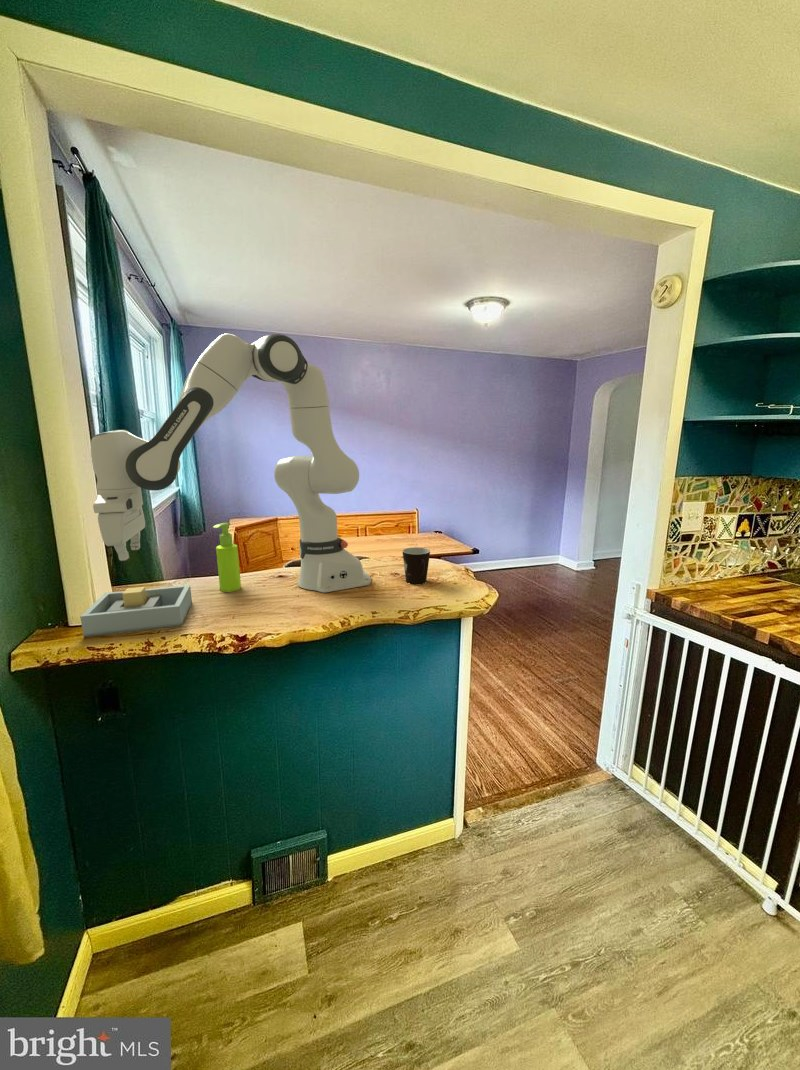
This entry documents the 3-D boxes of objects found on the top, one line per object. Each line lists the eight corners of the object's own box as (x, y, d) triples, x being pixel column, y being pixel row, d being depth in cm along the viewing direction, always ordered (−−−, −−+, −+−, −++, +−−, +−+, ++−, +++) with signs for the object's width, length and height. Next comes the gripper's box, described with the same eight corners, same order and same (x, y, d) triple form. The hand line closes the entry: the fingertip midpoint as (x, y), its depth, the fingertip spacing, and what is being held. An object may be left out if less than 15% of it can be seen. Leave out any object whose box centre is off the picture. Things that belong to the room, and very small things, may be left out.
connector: (147, 608, 111) (144, 586, 109) (143, 614, 107) (140, 591, 106) (130, 610, 109) (127, 588, 108) (125, 616, 106) (122, 593, 104)
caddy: (192, 602, 116) (190, 585, 115) (181, 625, 102) (179, 606, 100) (107, 611, 111) (105, 592, 110) (83, 637, 96) (80, 616, 95)
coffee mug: (404, 576, 138) (404, 547, 136) (430, 577, 137) (431, 547, 135) (399, 588, 127) (399, 556, 125) (427, 589, 126) (428, 557, 124)
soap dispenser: (213, 591, 125) (206, 525, 121) (229, 584, 131) (223, 520, 127) (229, 593, 123) (222, 526, 119) (245, 586, 129) (239, 522, 125)
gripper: (120, 494, 111) (128, 545, 114) (89, 507, 92) (100, 567, 95) (147, 492, 113) (155, 543, 116) (122, 505, 94) (132, 564, 97)
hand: (130, 554), depth 106 cm, fingers open, 8 cm apart
